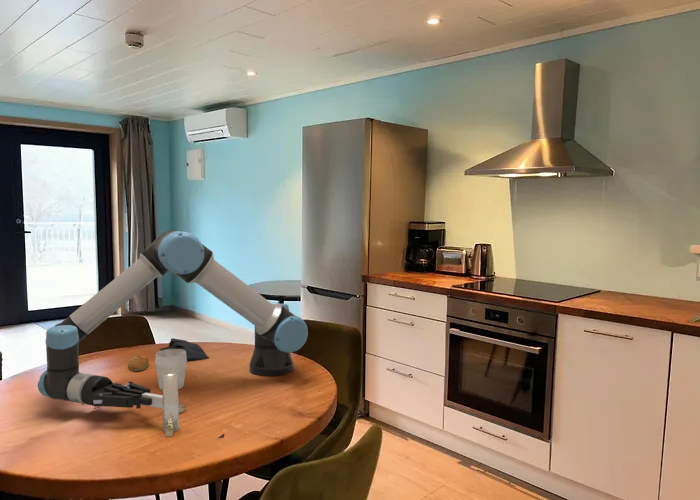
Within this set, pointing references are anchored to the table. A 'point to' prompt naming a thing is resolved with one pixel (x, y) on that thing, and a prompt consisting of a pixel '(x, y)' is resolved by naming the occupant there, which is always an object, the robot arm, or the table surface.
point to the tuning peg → (171, 403)
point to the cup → (171, 364)
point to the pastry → (138, 363)
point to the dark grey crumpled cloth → (187, 349)
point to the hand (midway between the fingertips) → (164, 402)
